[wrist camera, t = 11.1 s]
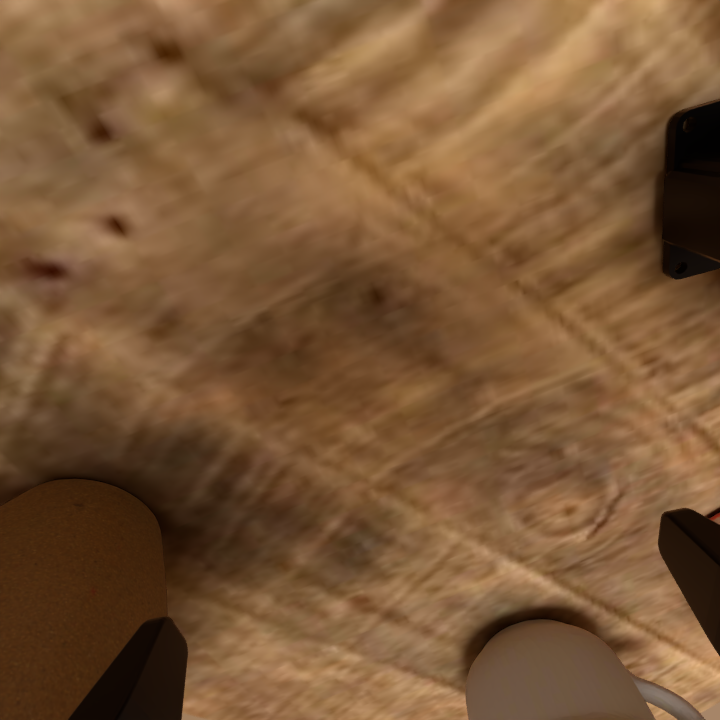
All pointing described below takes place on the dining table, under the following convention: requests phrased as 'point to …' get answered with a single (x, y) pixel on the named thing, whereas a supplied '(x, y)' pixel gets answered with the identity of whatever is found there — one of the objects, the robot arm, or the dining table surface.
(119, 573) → the plant pot
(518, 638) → the teacup
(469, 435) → the dining table surface
